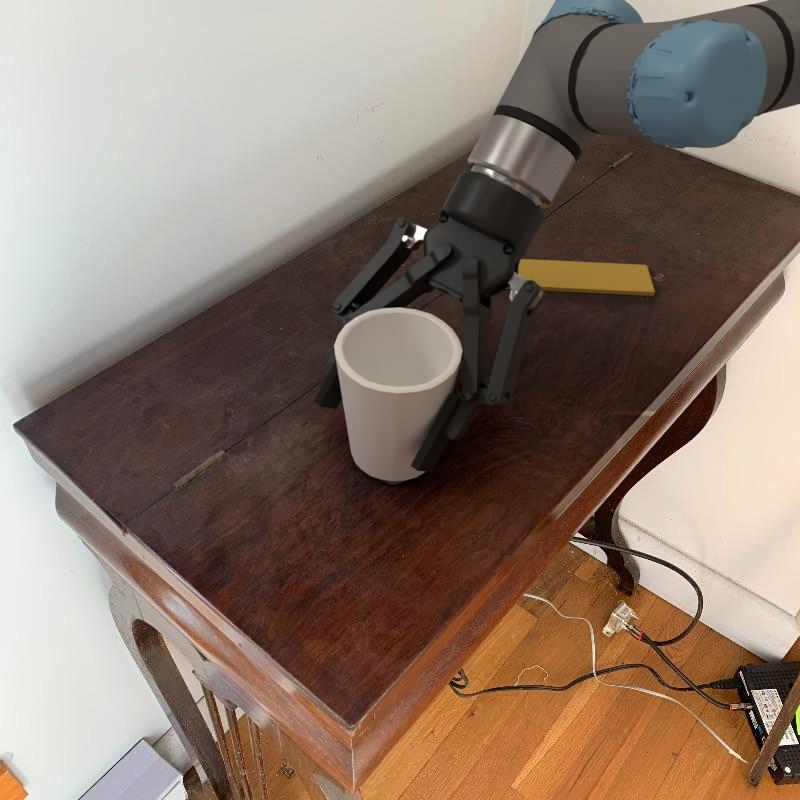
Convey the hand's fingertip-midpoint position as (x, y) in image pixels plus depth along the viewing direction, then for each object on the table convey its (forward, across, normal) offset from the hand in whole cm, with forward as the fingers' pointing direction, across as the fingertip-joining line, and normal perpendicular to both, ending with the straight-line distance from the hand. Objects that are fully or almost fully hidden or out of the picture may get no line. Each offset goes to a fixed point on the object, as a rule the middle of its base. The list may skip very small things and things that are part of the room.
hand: (371, 436), depth 66 cm
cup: (+1, 0, -6) cm, 6 cm away
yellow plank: (-21, +4, -28) cm, 35 cm away
